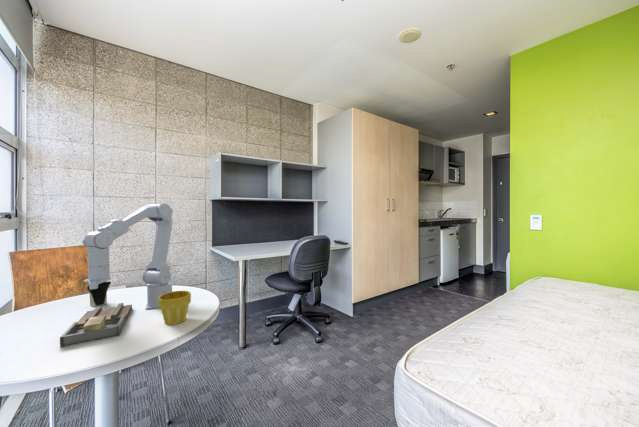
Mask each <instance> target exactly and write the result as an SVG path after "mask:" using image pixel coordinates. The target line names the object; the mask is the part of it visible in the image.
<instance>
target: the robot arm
mask: <svg viewBox="0 0 639 427" xmlns="http://www.w3.org/2000/svg"><path fill="white" fill-rule="evenodd" d="M172 217H173V209H172V207H171V205H169V204H168V203H163V202H162V203H147V204H145V205H142V206H141V207H140V208H139V209H138V210H136V211H134V212H132V213H131V214H129V215H128V216H127V217H125V218H124V219H112V220H110V221H109V222H110V223H108V224H105V225H104V226H103V227H102V226H101V227H98V228H97V231H89V232H88V233H87V234H86V235H85V237H84V239H82V244H83V246H85V248H86V252H87V277H88V278H87V279H84V280H83V283H88V286H87V287H86V288H87V290H88V292H89V294H90V293H91V295H92V297H93V300H94V303H95V305H96V307H98V306H97V305H100V306H104V305H105V304H104V302H105V298H106V293H107V292H108V290H109V287H110V286H111V284H112V282H111V281H110V280H111V275H110V274H111V273H110V268H111V265H110V247H111V246H112V245H113V243H114V241H115V240H117V239H118V238H119V237H120V238H121V237H122V236H123V235H124V234H126V233H128V232H129V230H130V227H131V226H134V225H135V224H137V223H139V222H141V221H143V220H144V219H148V220H150V221H151V222H153V223H155V225H156V226H157V228H156V229H157V230H156V234H155V240H154V244H153V245H154V247H153V252H152V257H151V262H150V263H148V264H147V265H146V266H145V267H146V268H145V270H144V272H143V274H142V281H143V282H144V283H145V286H146V288H147V290H146V291H147V292H146V293H147V294H146V296H147V301H146V302H147V303H146V306H145V308H144V309H145V310H151V309H158V308H159V305H158V298H159V296H161V295H163V294H165V293H169V292H173V283H172V282H170V281H171V278H172V274H171V266H170V265H169V263H167V259H168V253H169V247H170V241H171V234H172V227H173V218H172ZM105 281H106V282H105ZM103 304H104V305H103Z"/></svg>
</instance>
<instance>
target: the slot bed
mask: <svg viewBox="0 0 639 427" xmlns="http://www.w3.org/2000/svg"><path fill="white" fill-rule="evenodd" d="M132 310H133V305H132V304H126V305H124V302H120V303H117V305H116V306H113V307H108V308H103V305H100V306H96V307H95V308H94V309H93V310H88V311H86V313H84V314H83V316H82V317H81V318H80V319H79V320H78V321H77V322H78V327H81V326H84V325H85V324H86V323H87V321H88V320H89V319H90V317H96V316H102V315H106V322H110V321H116V320H120V318H121V317H122V315H123V314H126V321H127V320H128V318H129V316H130V315H131V314H130V313H131V312H132Z"/></svg>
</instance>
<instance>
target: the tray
mask: <svg viewBox="0 0 639 427" xmlns="http://www.w3.org/2000/svg"><path fill="white" fill-rule="evenodd" d="M126 322H127V320H126V314H123V315H122V317H121V318H120V320H116V321H110V322H106V327H105V328H104V329H98V330H93V331H87V332H83V326H81V327H78V321H75V322H73V323H72V324H71V325H70V327H68V328H67V329H66V331H65V332H63V333H62V335H61V336H60V337H59V347H60V348H64V347H70V346H74V345H78V344H84V343H89V342H94V341H99V340H105V339H110V338H115V337H118V336H120V334H121V332H122V330H123V329H124V326H125V325H126Z"/></svg>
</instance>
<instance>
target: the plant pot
mask: <svg viewBox="0 0 639 427" xmlns="http://www.w3.org/2000/svg"><path fill="white" fill-rule="evenodd" d="M191 298H192V294H191V291H188V290H175V291H173V290H172V292H169V293H165V294H163V295H161V296H159V298H158V305H159V307H158V308H159V309H161V310H160V311H161V314H162V316H163V321H164V324H165V325H168V326H173V325H174V326H175V325H178V324H181V323H183V322H184V321H186V318H187V315H188V314H187V312H188V308H189V306H190V305H189V304H190V303H191V302H192V301H191V300H192V299H191Z"/></svg>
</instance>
